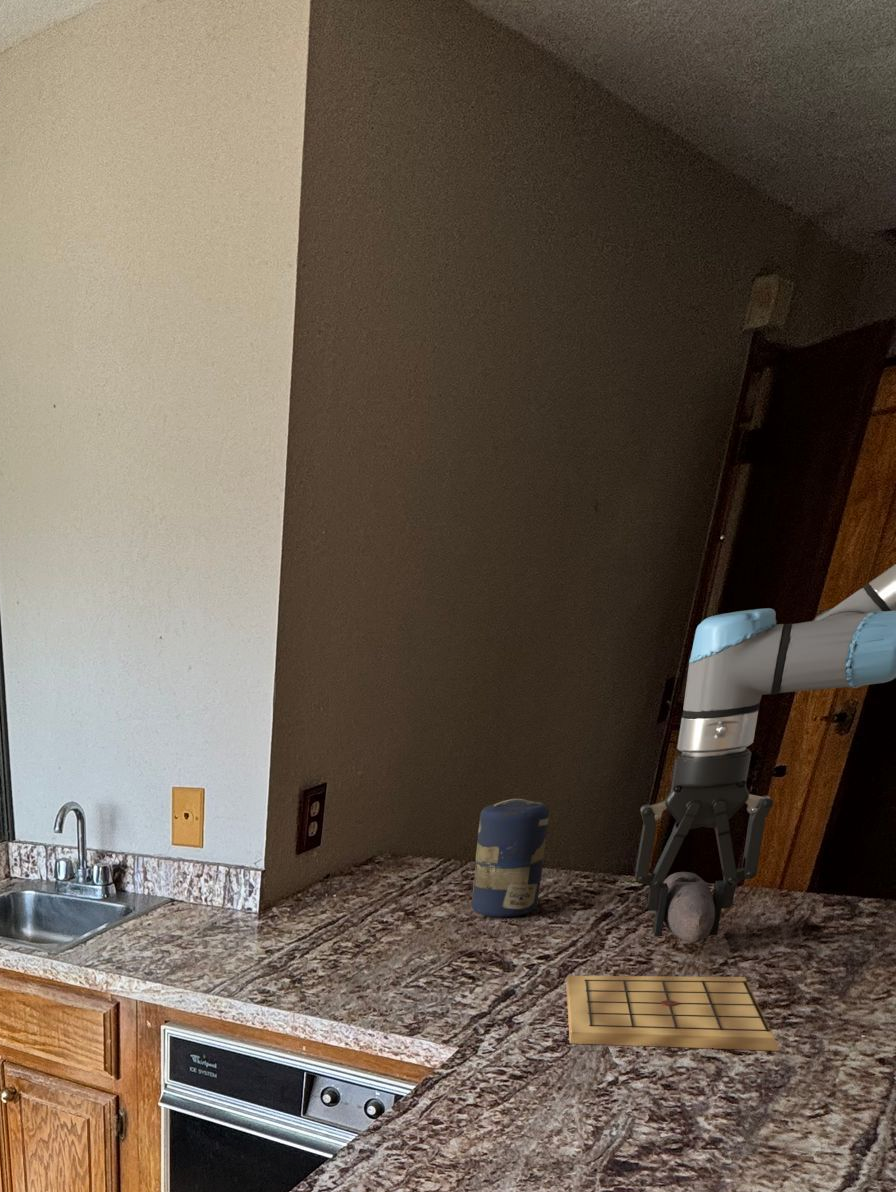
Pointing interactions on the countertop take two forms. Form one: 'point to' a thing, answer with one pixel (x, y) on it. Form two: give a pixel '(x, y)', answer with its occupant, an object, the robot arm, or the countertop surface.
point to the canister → (509, 857)
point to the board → (666, 1012)
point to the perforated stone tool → (689, 907)
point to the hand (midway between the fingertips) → (684, 932)
